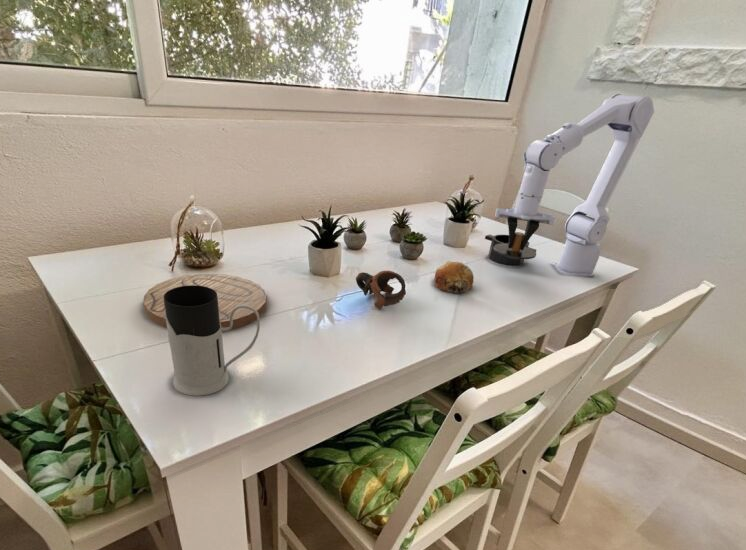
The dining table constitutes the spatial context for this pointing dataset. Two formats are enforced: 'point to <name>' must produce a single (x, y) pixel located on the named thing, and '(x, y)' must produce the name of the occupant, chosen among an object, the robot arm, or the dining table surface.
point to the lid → (515, 248)
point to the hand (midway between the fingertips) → (515, 248)
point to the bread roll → (454, 277)
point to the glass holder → (198, 339)
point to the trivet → (228, 293)
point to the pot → (498, 257)
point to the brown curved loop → (381, 287)
